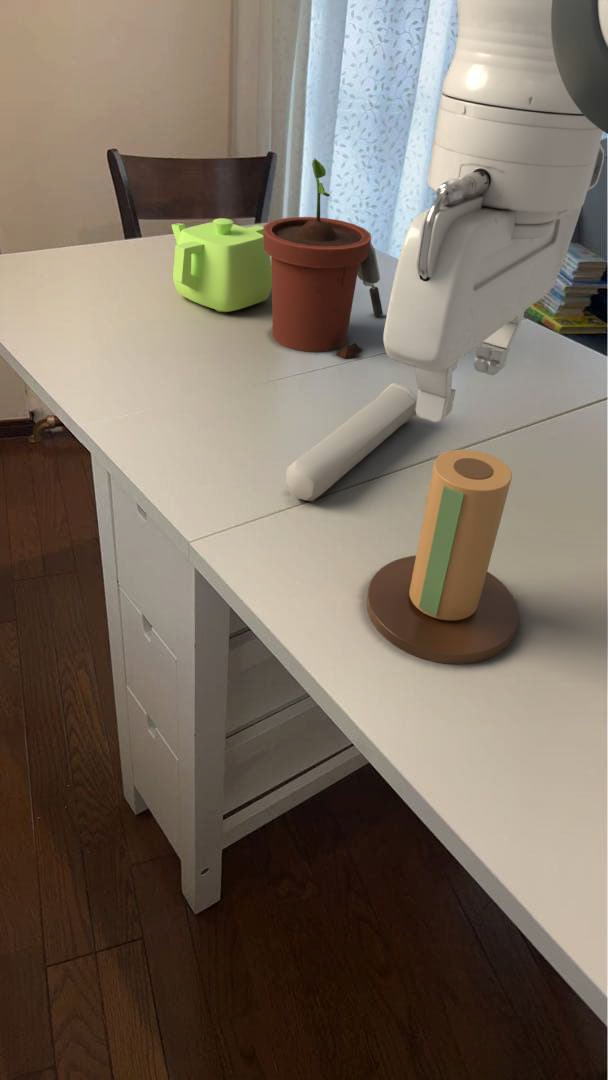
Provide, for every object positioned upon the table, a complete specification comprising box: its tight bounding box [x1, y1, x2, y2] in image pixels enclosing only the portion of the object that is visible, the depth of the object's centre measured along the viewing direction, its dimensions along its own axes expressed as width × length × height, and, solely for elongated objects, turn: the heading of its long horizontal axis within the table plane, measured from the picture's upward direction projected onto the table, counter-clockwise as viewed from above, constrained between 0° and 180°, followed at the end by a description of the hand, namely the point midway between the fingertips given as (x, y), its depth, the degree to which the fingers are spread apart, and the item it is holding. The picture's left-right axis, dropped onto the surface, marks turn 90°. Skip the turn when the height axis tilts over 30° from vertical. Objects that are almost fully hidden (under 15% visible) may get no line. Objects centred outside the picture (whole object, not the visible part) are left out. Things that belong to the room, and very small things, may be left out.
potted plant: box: [263, 157, 384, 359], centre depth 119 cm, size 18×22×25 cm
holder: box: [366, 555, 520, 665], centre depth 75 cm, size 14×14×2 cm
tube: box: [285, 381, 418, 503], centre depth 95 cm, size 5×5×25 cm
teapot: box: [171, 217, 272, 313], centre depth 132 cm, size 18×20×13 cm
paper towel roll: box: [409, 449, 513, 621], centre depth 70 cm, size 6×7×14 cm
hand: (462, 391), depth 52 cm, fingers open, 8 cm apart
